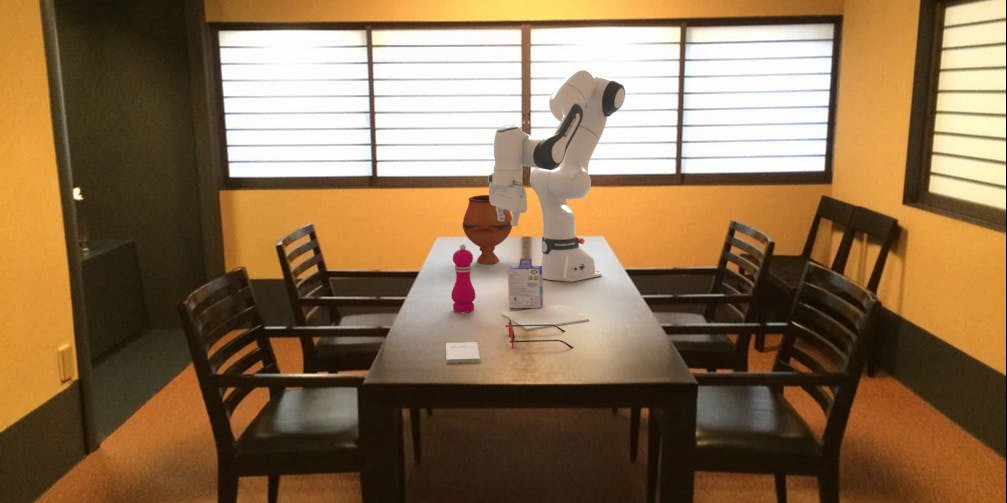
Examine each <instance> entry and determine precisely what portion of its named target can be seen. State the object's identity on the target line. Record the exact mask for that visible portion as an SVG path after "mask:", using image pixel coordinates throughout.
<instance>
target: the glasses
mask: <svg viewBox="0 0 1007 503" xmlns="http://www.w3.org/2000/svg"><path fill="white" fill-rule="evenodd" d="M508 320H509V319H508ZM521 326H551V327H554V328H556V329H558V330H560V332H562V333H566V330H564V329H563V328H561V327H559V325H558V326H556V325H552V324H546V325H517V324H512V321H511V320H509V321H508V323H507V324H505V328H508V330H507V331H508V337H509V338H510V339H511V340H509V343H510V344H511V348H512V349H514V343H535V342H536V343H537V342H539V343H542V342H560V343H563V344H564V345H566V346H568V348H570V349H575V348H574V346H572V345H570V344H569V343H567V342H566V341H564V340H563V339H562V340H561V339H542V340H539V339H538V340H537V339H534V340H531V339H530V340H515V337H516V335H515V331H514V327H517V328H518V327H521Z"/></svg>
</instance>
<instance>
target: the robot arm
mask: <svg viewBox="0 0 1007 503" xmlns="http://www.w3.org/2000/svg"><path fill="white" fill-rule="evenodd" d="M625 90H626V89H625V86H624V85H623V84H622V83H621V82H619V81H617V80H615V79H609V78H607V77H605V76H601V75H595V74H593V73H592V72H590V71H589V70H587V69H584V68H579V69H576V70H573V72H571V73H570V74H569V75H567V76H566V77H565V78H564V79H563V80H562V81H561V83H559V84H558V86H557V87H556V88H555V89H554V91H553V92H552V94H551V96H550V97H549V99H548V100H549V102H548V104H549V110H550V111H551V112H550V113H551V114H552V115H553V117H554V118H556V119H557V121H559V123H558V125H557V127H556V129H555V130H554V132H553V133H552V134H550V135H547V136H535V135H530V134H528V133H526V132H524V131H523V129H522V128H521V126H520V125H518V124H516V125H515V124H510V125H503V126H500V127H498V129H496V132H495V134H494V139H493V140H494V141H493V158H494V166H493V172H492V173H491V174H489V175H488V177H487V183H488V195H489V200H490V204H491V205H493V206H496V211H497V215H498V221H501V222H502V221H505V216H504V213H503V210H504V209H506V210H509V211H510V212H511V216H512V220H511V225H512V227H518V225H519V219H520V216H521V214H523V213H526V212H527V210H528V200H527V196H528V195H527V191H526V188H525V187H524V185H523V167H529V168H533V169H532V171H531V172H530V174H529V185H530V187H531V189H532V190H533V191H534V193H535V194H536V196H537V199H538V201H539V204H540V208H541V212H542V213H541V214H542V226H543V227H542V229H543V230H542V236H541V252H542V255H541V263H540V266H542V279H545V280H549V281H559V282H561V281H563V282H567V283H569V282H570V283H571V282H577V281H578V282H579V281H582V280H587V279H592V278H597V277H601V276H602V272H601V271H600V270H599V269H596V265H595V259H594V258H593V255H592V256H591V255H590V254H589V253H588V252H587V251H585V250H584V249H583V248H582V247H581V246H580V244H581V245H584V243H586V242H585V238H582V237H577V236H576V215H575V213H574V211H573V210H572V209H571V207H570V206H569V203H568V201H567V200H569V201H570V200H571V201H572V200H579V199H583V198H585V197H586V196H587V195H588V194H589V193H590V190H591V187H592V186H591V185H592V179H591V177H590V176H591V175H589V164H590V161H591V157H592V156H593V154H594V151H595V149H596V147H597V146H598V143H599V141H600V140H601V138H602V135H603V132H604V130H605V127H606V125H607V120H608V117H610V116H612V115H613V114H615V113H616V112H617V111H618V110H619V109H620V108H621V107H622V105H623V104H624V101H625V99H626V98H625V97H626V91H625Z"/></svg>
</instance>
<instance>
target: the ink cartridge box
mask: <svg viewBox="0 0 1007 503" xmlns="http://www.w3.org/2000/svg"><path fill="white" fill-rule="evenodd" d="M525 261H526V262H525ZM532 264H533V262H532V258H519V263H518V265H511V266H510V267H509V268H508V269H507V276H508V278H507V280H508V283H507V284H508V286H507V287H508V308H512V309H513V308H515V309H537V308H542V306H544V292H543V291H544V287H543V286H544V285H543V284H544V283H543V282H544V281H543V278H542V266H541V265H532Z"/></svg>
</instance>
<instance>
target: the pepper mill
mask: <svg viewBox="0 0 1007 503" xmlns="http://www.w3.org/2000/svg"><path fill="white" fill-rule="evenodd" d="M466 248H467V246H466V245H465V244H463V243H462V244H460V245H459V249H458V250H456V251H455V252H454V253H453V255H452V262H453V263H454V264H455V265H454V271H455V275H456V278H455V283H454V285H453V288H452V289H451V296H450V297H451V299H452V301H453V302H454V303H453V304H452V305H453V306H452V307H453V308H452V310H453V311H454V312H455V313H462V312H464V313H471V312H473V311H474V310H475V304H474V300H475V299H476V291H475V288H474V285H473V284H472V281H471V271H472V270H473V269H472V265H471V264H472V263H473V260H474V256H473V253H472V252H471V251H470V250H468V249H466Z"/></svg>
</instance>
